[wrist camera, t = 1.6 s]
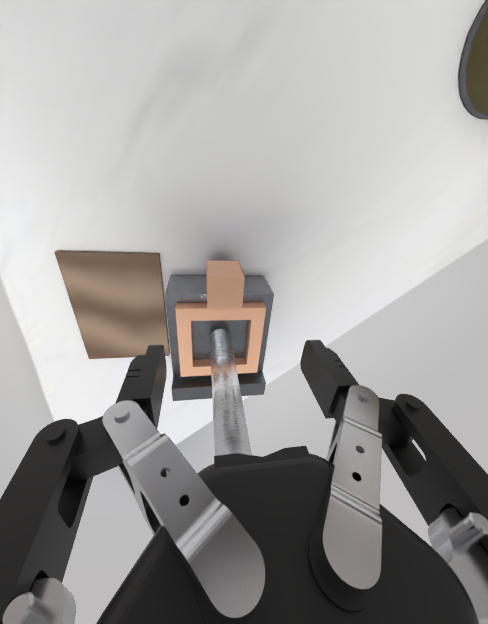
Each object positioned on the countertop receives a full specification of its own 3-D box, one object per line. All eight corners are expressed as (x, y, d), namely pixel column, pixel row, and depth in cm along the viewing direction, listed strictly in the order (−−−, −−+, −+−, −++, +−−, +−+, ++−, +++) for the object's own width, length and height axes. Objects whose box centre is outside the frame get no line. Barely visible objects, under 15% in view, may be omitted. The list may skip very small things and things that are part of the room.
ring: (173, 259, 22) (167, 276, 19) (268, 261, 24) (280, 277, 20) (181, 369, 29) (178, 396, 25) (255, 365, 30) (262, 390, 27)
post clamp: (170, 274, 28) (128, 421, 12) (263, 275, 30) (337, 404, 14) (178, 371, 35) (159, 541, 19) (252, 367, 37) (291, 519, 21)
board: (57, 250, 25) (54, 252, 24) (159, 253, 26) (158, 254, 26) (90, 355, 32) (89, 358, 31) (169, 352, 33) (169, 355, 33)
